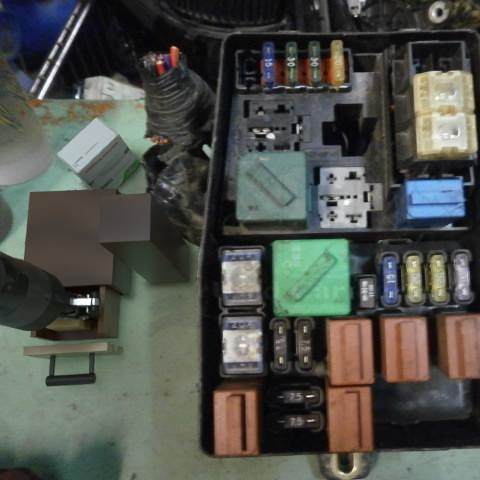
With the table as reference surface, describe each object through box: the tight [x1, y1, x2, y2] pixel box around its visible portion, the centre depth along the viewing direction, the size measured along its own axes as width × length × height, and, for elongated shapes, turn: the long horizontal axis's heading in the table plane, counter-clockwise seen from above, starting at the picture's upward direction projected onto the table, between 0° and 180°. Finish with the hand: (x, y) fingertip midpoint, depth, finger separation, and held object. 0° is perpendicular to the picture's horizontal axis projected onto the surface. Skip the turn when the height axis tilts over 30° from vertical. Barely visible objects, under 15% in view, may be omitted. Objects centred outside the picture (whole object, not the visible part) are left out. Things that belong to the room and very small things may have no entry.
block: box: [46, 295, 91, 332], centre depth 77 cm, size 4×4×4 cm
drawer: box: [22, 285, 124, 388], centre depth 79 cm, size 18×11×7 cm, turn 4°
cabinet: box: [23, 188, 133, 297], centre depth 83 cm, size 15×13×9 cm
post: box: [98, 192, 190, 285], centre depth 75 cm, size 6×6×24 cm
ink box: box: [56, 116, 141, 189], centre depth 85 cm, size 9×5×12 cm, turn 141°
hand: (75, 315), depth 79 cm, fingers closed on block, 4 cm apart
